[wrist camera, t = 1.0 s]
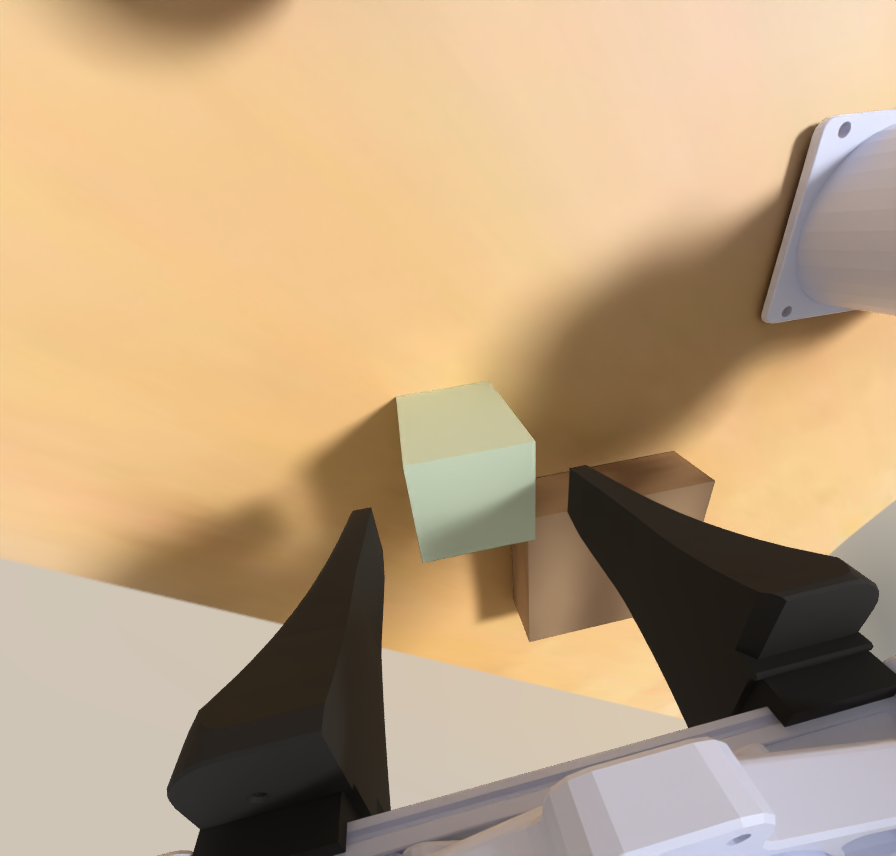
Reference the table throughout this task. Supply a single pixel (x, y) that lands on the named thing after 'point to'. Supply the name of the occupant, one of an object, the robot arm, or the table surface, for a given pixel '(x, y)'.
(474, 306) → the table surface
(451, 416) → the sage block
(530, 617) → the walnut base
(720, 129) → the table surface
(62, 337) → the table surface
